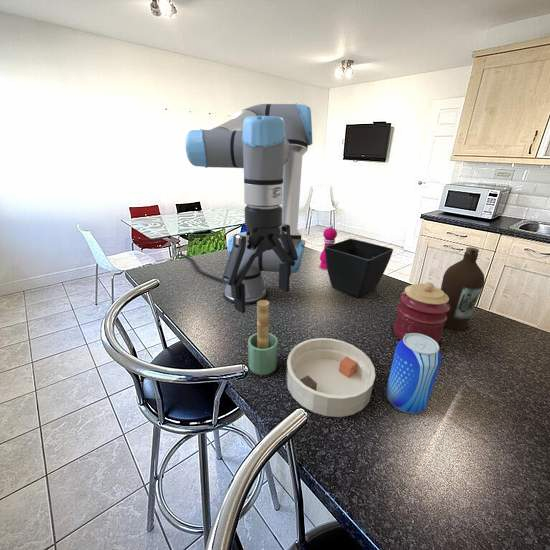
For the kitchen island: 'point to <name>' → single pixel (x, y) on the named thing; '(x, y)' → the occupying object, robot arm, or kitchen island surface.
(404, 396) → the beer can
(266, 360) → the cup
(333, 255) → the flower pot
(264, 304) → the stir stick
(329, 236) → the pepper mill
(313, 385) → the walnut block
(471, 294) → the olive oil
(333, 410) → the bowl
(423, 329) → the kitchen canister
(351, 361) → the terracotta block
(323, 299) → the kitchen island surface
